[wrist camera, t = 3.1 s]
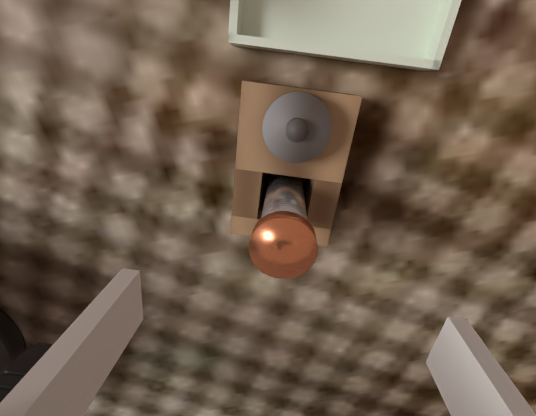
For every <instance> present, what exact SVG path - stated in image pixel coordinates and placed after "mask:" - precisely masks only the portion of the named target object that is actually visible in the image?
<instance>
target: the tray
mask: <svg viewBox="0 0 536 416" xmlns="http://www.w3.org/2000/svg"><path fill="white" fill-rule="evenodd" d="M461 1H462V0H230V17H229V35H228V43H230V44H231V45H233V46H237V47H245V48H253V49H260V50H268V51H276V52H283V53H291V54H299V55H306V56H314V57H322V58H329V59H337V60H344V61H352V62H360V63H367V64H375V65H383V66H390V67H398V68H406V69H413V70H421V71H431V70H439V68H440V65H441V62H442V59H443V56H444V53H445V50H446V47H447V44H448V41H449V38H450V34H451V31H452V28H453V25H454V22H455V19H456V16H457V13H458V10H459V7H460V4H461Z"/></svg>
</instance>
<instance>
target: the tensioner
mask: <svg viewBox="0 0 536 416" xmlns="http://www.w3.org/2000/svg"><path fill="white" fill-rule="evenodd" d="M361 100H362V96H357V95H352V94H345V93H337V92H330V91H322V90H315V89H307V88H299V87H292V86H284V85H277V84H269V83H262V82H254V81H242V88H241V101H240V113H239V126H238V139H237V152H236V165H235V178H234V191H233V204H232V217H231V230H230V233H232V234H240V235H247V236H251V234H252V231H253V228H254V226H255V225H256V223H257V222H258V221H259V220H260V219H261V216H262V211H263V206H264V203H262V202H261V197H262V188H263V180H264V173H271V174H278V175H286V176H293V177H300V178H308V179H309V181H308V187H307V192H306V197H305V206H306V214H307V220H308V221H309V222H310V224H311V225H312V226H313V228H314V231H315V234H316V240H317V245H319V246H326V247H327V244H328V240H329V236H330V232H331V227H332V223H333V219H334V215H335V211H336V206H337V202H338V198H339V194H340V189H341V185H342V181H343V177H344V172H345V168H346V164H347V160H348V155H349V151H350V147H351V143H352V139H353V134H354V130H355V126H356V122H357V117H358V113H359V109H360V105H361Z"/></svg>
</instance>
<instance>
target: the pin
mask: <svg viewBox="0 0 536 416" xmlns="http://www.w3.org/2000/svg"><path fill="white" fill-rule="evenodd" d="M317 253H318V246H317V240H316V234H315V231H314V228H313V226H312V225H311V224H310V222H309V221H308V220H307V214H306V206H305V199H304V191H303V184H302V179H301V178H300V177H293V176H286V175H278V174H272V175H271V176H270V178H269V181H268V186H267V191H266V196H265V201H264V206H263V211H262V216H261V219H260V220H259V221H258V222H257V223H256V225H255V226H254V228H253V231H252V234H251V238H250V243H249V254H250V257H251V260H252V262H253V263H254V265H255V266H256V267H257V268H258V269H259V270H260V271H262V272H263V273H265V274H267V275H269V276H272V277H275V278H282V279H284V278H293V277H296V276H299V275H301V274H303V273H305V272H306V271H307V270H309V269H310V268H311V266H312V265H313V264H314V262H315V260H316V257H317Z"/></svg>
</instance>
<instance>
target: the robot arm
mask: <svg viewBox="0 0 536 416" xmlns="http://www.w3.org/2000/svg"><path fill="white" fill-rule="evenodd" d="M142 321H143V308H142V294H141V280H140V271H138V270H131V269H124V268H122V269H121V270H120V271H119V272H118V273H117V275H116V276H115V277H114V278H113V279H112V280H111V281H110V282H109V283H108V285H107V286H106V287H105V288H104V289H103V290H102V291H101V292H100V293H99V294H98V296H97V297H96V298H95V299H94V300H93V301H92V302H91V303H90V304H89V305H88V307H87V308H86V309H85V310H84V311H83V312H82V313H81V314H80V315H79V317H78V318H77V319H76V320H75V321H74V322H73V323H72V324H71V325H70V326H69V328H68V329H67V330H66V331H65V332H64V333H63V334H62V335H61V336H60V337H59V339H58V340H57V341H56V342H55V343H54V344H53V345H52V344H46V343H40V342H39V343H38V344H36V345H35V346H33V347H31V348H30V349H28V350H27V351H25V345H24V341H23V338H22V336H21V334H20V332H19V330H18V329H17V327H16V326H15V325H14V323H13V322H12V321H11V320H10V319H9V318H8V317H7V316H6V315H5V314H4V313H2V312H1V311H0V416H83V415H84V413H85V412H86V410H87V409H88V407H89V405H90V404H91V402H92V401H93V399H94V397H95V396H96V394H97V393H98V391H99V389H100V388H101V386H102V385H103V383H104V381H105V380H106V378H107V377H108V375H109V373H110V372H111V370H112V369H113V367H114V365H115V364H116V362H117V361H118V359H119V357H120V356H121V354H122V353H123V351H124V349H125V348H126V346H127V345H128V343H129V341H130V340H131V338H132V337H133V335H134V333H135V332H136V330H137V329H138V327H139V325H140V324H141V322H142ZM426 364H427V366H428V368H429V370H430V372H431V375H432V377H433V379H434V381H435V383H436V385H437V387H438V389H439V391H440V394H441V396H442V398H443V400H444V402H445V404H446V406H447V408H448V411H449V413H450V415H451V416H536V414H535V413H534V411H533V410H532V408H531V407H530V406H529V404H528V403H527V402H526V400H525V399H524V397H523V396H522V395H521V393H520V392H519V391H518V389H517V388H516V386H515V385H514V384H513V382H512V381H511V380H510V378H509V377H508V375H507V374H506V373H505V371H504V370H503V369H502V367H501V366H500V365H499V363H498V362H497V360H496V359H495V358H494V356H493V355H492V354H491V352H490V351H489V349H488V348H487V347H486V345H485V344H484V343H483V341H482V340H481V338H480V337H479V336H478V334H477V333H476V332H475V330H474V329H473V327H472V326H471V325H470V323H469V322H468V321H467V319H462V318H455V317H449V316H448V317H447V319H446V322H445V324H444V326H443V328H442V330H441V332H440V334H439V336H438V338H437V340H436V342H435V344H434V346H433V348H432V350H431V352H430V354H429V356H428V358H427V360H426Z"/></svg>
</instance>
